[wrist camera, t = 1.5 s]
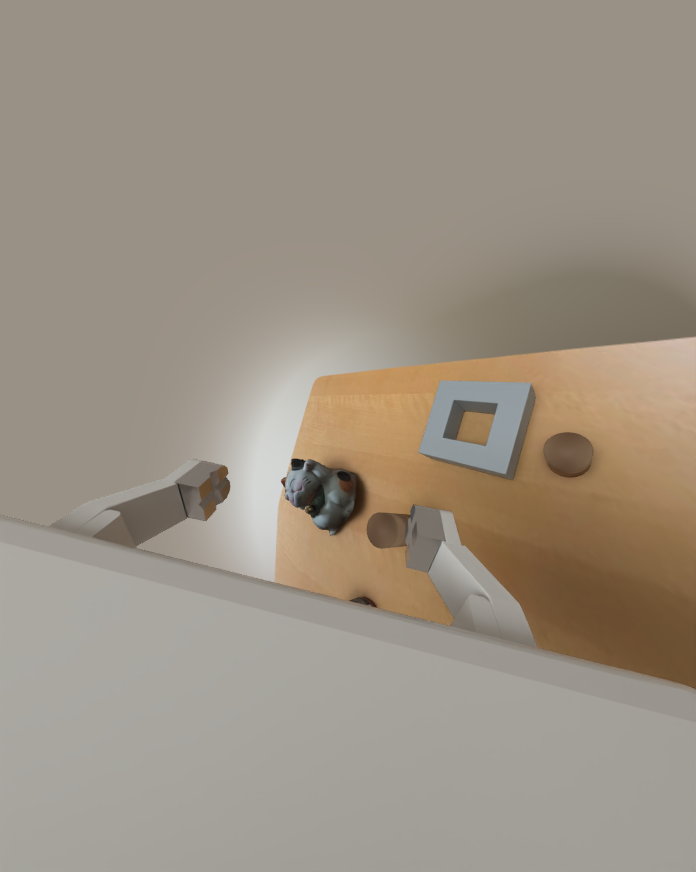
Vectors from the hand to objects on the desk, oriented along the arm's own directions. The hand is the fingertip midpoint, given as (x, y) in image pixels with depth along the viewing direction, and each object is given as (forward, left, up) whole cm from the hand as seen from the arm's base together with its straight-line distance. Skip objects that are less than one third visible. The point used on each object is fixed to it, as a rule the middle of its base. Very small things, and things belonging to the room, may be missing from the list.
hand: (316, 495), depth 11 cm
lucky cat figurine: (+29, +8, -33) cm, 45 cm away
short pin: (-6, -10, -33) cm, 35 cm away
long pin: (+8, +5, -33) cm, 35 cm away
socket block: (+5, -12, -33) cm, 36 cm away
